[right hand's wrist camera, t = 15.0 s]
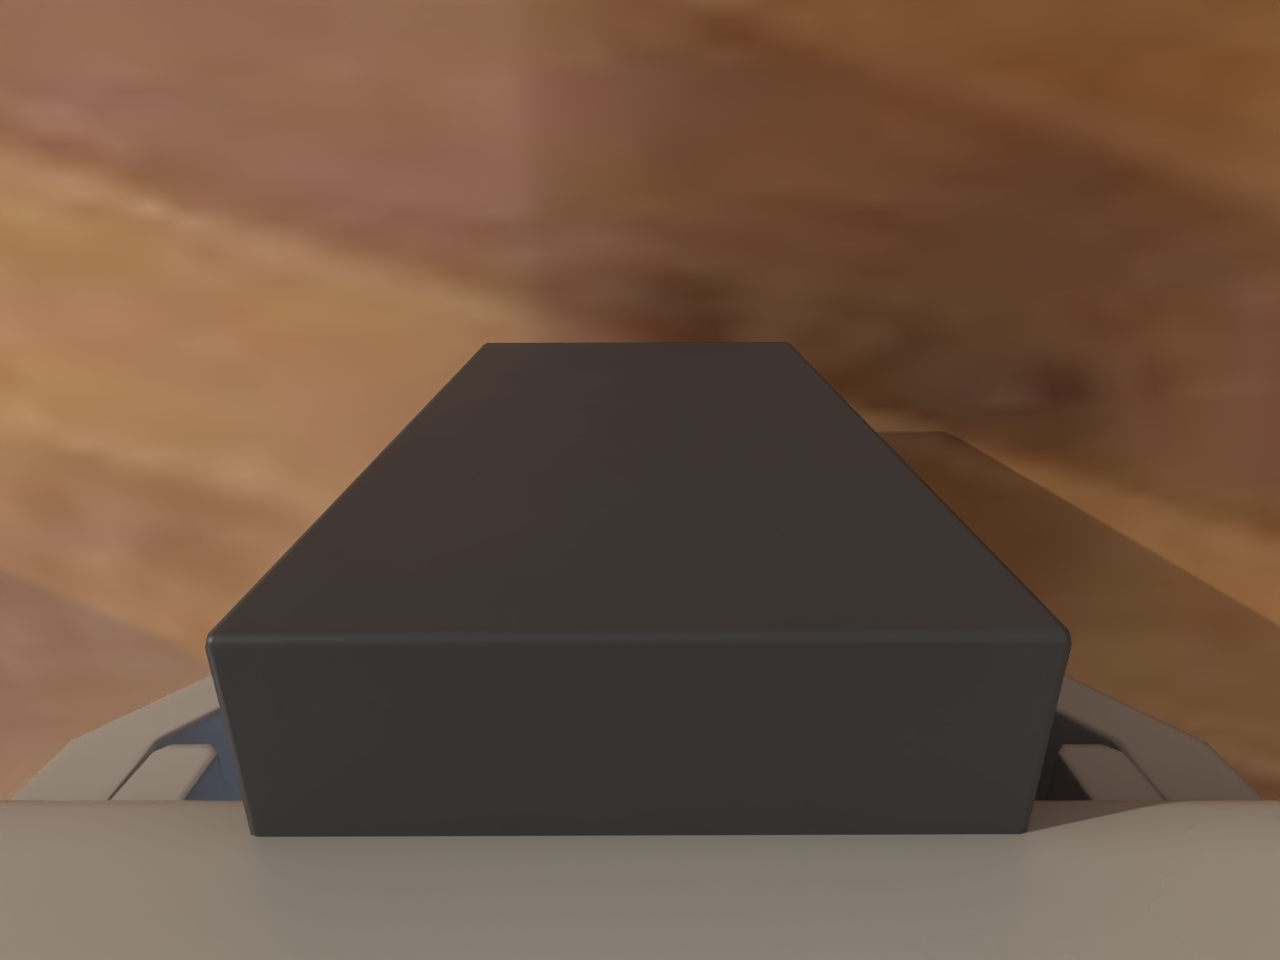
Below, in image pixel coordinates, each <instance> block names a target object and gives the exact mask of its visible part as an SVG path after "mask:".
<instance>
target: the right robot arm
mask: <svg viewBox="0 0 1280 960" xmlns="http://www.w3.org/2000/svg"><path fill="white" fill-rule="evenodd" d="M0 960H1280V800H1265V799H1264V798H1263V797H1262V796H1261V795H1260V794H1258V793H1257V792H1256V791H1255V790H1254V789H1253V788H1252V787H1251V786H1250V785H1249V784H1248V783H1247V782H1246V781H1245V780H1244V779H1243V778H1242V777H1241V776H1240V775H1239V774H1238V773H1237V772H1236V771H1235V770H1234V769H1233V768H1232V767H1231V766H1230V765H1229V764H1228V763H1227V762H1226V761H1225V760H1224V759H1223V758H1222V757H1221V756H1220V755H1219V754H1218V753H1217V752H1216V751H1215V750H1214V749H1213V748H1212V747H1211V746H1210V745H1209V744H1208V743H1207V742H1205V741H1203V740H1201V739H1198V738H1196V737H1194V736H1192V735H1190V734H1188V733H1186V732H1184V731H1182V730H1179V729H1177V728H1175V727H1173V726H1171V725H1169V724H1167V723H1165V722H1163V721H1160V720H1158V719H1156V718H1154V717H1152V716H1150V715H1148V714H1146V713H1144V712H1141V711H1139V710H1137V709H1135V708H1133V707H1131V706H1129V705H1127V704H1125V703H1122V702H1120V701H1118V700H1116V699H1114V698H1112V697H1110V696H1108V695H1106V694H1103V693H1101V692H1099V691H1097V690H1095V689H1093V688H1091V687H1089V686H1087V685H1084V684H1082V683H1080V682H1078V681H1076V680H1074V679H1072V678H1070V677H1068V676H1065V675H1064V678H1063V682H1062V687H1061V691H1060V695H1059V699H1058V703H1057V708H1056V712H1055V716H1054V720H1053V724H1052V729H1051V733H1050V737H1049V741H1048V745H1047V750H1046V754H1045V758H1044V762H1043V766H1042V771H1041V775H1040V779H1039V783H1038V787H1037V792H1036V796H1035V800H1034V804H1033V808H1032V813H1031V817H1030V821H1029V825H1028V829H1027V832H1025V833H1022V834H936V835H654V836H371V837H257V836H254V835H251V834H250V829H249V825H248V821H247V817H246V813H245V809H244V805H243V801H242V797H241V792H240V788H239V784H238V780H237V776H236V772H235V768H234V764H233V760H232V756H231V751H230V747H229V743H228V739H227V735H226V731H225V727H224V723H223V719H222V715H221V710H220V706H219V702H218V698H217V694H216V690H215V686H214V682H213V678H212V675H210V676H208V677H206V678H204V679H202V680H199V681H197V682H195V683H193V684H191V685H189V686H187V687H185V688H182V689H180V690H178V691H176V692H174V693H172V694H170V695H168V696H165V697H163V698H161V699H159V700H157V701H155V702H153V703H151V704H148V705H146V706H144V707H142V708H140V709H138V710H136V711H134V712H131V713H129V714H127V715H125V716H123V717H121V718H119V719H116V720H114V721H112V722H110V723H108V724H106V725H104V726H102V727H99V728H97V729H95V730H93V731H91V732H89V733H87V734H85V735H82V736H80V737H78V738H76V739H74V740H72V741H70V742H69V743H68V744H67V745H66V746H65V747H64V748H63V749H62V750H61V751H60V752H59V753H58V754H57V755H56V756H54V757H53V758H52V759H51V760H50V761H49V762H48V763H47V764H46V765H45V766H44V767H43V768H42V769H41V770H40V771H39V772H38V773H37V774H36V775H35V776H34V777H33V778H32V779H31V780H30V781H29V782H28V783H27V784H26V785H25V786H24V787H22V788H21V789H20V790H19V791H18V792H17V793H16V794H15V795H14V796H13V797H12V798H11V799H10V800H0Z"/></svg>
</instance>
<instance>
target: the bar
mask: <svg viewBox="0 0 1280 960" xmlns="http://www.w3.org/2000/svg"><path fill="white" fill-rule="evenodd" d="M1071 645H1072V643H1071V637H1070V633H1069V631H1068V629H1067V628H1066V627H1065V626H1064V625H1063V624H1062V623H1061V622H1060V621H1059V620H1058V619H1057V618H1056V617H1055V616H1054V615H1053V614H1052V613H1051V612H1050V611H1049V610H1048V609H1047V608H1046V607H1045V606H1044V605H1043V604H1042V602H1041V601H1040V600H1039V599H1038V598H1037V597H1036V596H1035V595H1034V594H1033V593H1032V592H1031V591H1030V590H1029V589H1028V588H1027V587H1026V586H1025V585H1024V584H1023V583H1022V582H1021V581H1020V580H1019V579H1018V578H1017V577H1016V576H1015V575H1014V574H1013V573H1012V572H1011V571H1010V570H1009V569H1008V568H1007V567H1006V566H1005V565H1004V563H1003V562H1002V561H1001V560H1000V559H999V558H998V557H997V556H996V555H995V554H994V553H993V552H992V551H991V550H990V549H989V548H988V547H987V546H986V545H985V544H984V543H983V542H982V541H981V540H980V539H979V538H978V537H977V536H976V535H975V534H974V533H973V532H972V531H971V530H970V529H969V528H968V527H967V526H966V524H965V523H964V522H963V521H962V520H961V519H960V518H959V517H958V516H957V515H956V514H955V513H954V512H953V511H952V510H951V509H950V508H949V507H948V506H947V505H946V504H945V503H944V502H943V501H942V500H941V499H940V498H939V497H938V496H937V495H936V494H935V493H934V492H933V491H932V490H931V489H930V488H929V487H928V485H927V484H926V483H925V482H924V481H923V480H922V479H921V478H920V477H919V476H918V475H917V474H916V473H915V472H914V471H913V470H912V469H911V468H910V467H909V466H908V465H907V464H906V463H905V462H904V461H903V460H902V459H901V458H900V457H899V456H898V455H897V454H896V453H895V452H894V451H893V450H892V449H891V448H890V446H889V445H888V444H887V443H886V442H885V441H884V440H883V439H882V438H881V437H880V436H879V435H878V434H877V433H876V432H875V431H874V430H873V429H872V428H871V427H870V426H869V425H868V424H867V423H866V422H865V421H864V420H863V419H862V418H861V417H860V416H859V415H858V414H857V413H856V412H855V411H854V410H853V409H852V408H851V406H850V405H849V404H848V403H847V402H846V401H845V400H844V399H843V398H842V397H841V396H840V395H839V394H838V393H837V392H836V391H835V390H834V389H833V388H832V387H831V386H830V385H829V384H828V383H827V382H826V381H825V380H824V379H823V378H822V377H821V376H820V375H819V374H818V373H817V372H816V371H815V370H814V369H813V367H812V366H811V365H810V364H809V363H808V362H807V361H806V360H805V359H804V358H803V357H802V356H801V355H800V354H799V353H798V352H797V351H796V350H795V349H794V348H793V347H792V346H791V345H790V344H789V343H786V342H707V343H487V344H484V345H483V346H482V347H481V349H480V350H479V351H478V352H477V353H476V354H475V355H474V356H473V357H472V358H471V359H470V360H469V361H468V362H467V363H466V364H465V365H464V366H463V367H462V368H461V369H460V371H459V372H458V373H457V374H456V375H455V376H454V377H453V378H452V379H451V380H450V381H449V382H448V383H447V384H446V385H445V386H444V387H443V388H442V389H441V390H440V391H439V393H438V394H437V395H436V396H435V397H434V398H433V399H432V400H431V401H430V402H429V403H428V404H427V405H426V406H425V407H424V408H423V409H422V410H421V411H420V412H419V413H418V415H417V416H416V417H415V418H414V419H413V420H412V421H411V422H410V423H409V424H408V425H407V426H406V427H405V428H404V429H403V430H402V431H401V432H400V433H399V434H398V436H397V437H396V438H395V439H394V440H393V441H392V442H391V443H390V444H389V445H388V446H387V447H386V448H385V449H384V450H383V451H382V452H381V453H380V454H379V455H378V456H377V458H376V459H375V460H374V461H373V462H372V463H371V464H370V465H369V466H368V467H367V468H366V469H365V470H364V471H363V472H362V473H361V474H360V475H359V476H358V477H357V478H356V480H355V481H354V482H353V483H352V484H351V485H350V486H349V487H348V488H347V489H346V490H345V491H344V492H343V493H342V494H341V495H340V496H339V497H338V498H337V499H336V500H335V502H334V503H333V504H332V505H331V506H330V507H329V508H328V509H327V510H326V511H325V512H324V513H323V514H322V515H321V516H320V517H319V518H318V519H317V520H316V521H315V522H314V524H313V525H312V526H311V527H310V528H309V529H308V530H307V531H306V532H305V533H304V534H303V535H302V536H301V537H300V538H299V539H298V540H297V541H296V542H295V543H294V544H293V546H292V547H291V548H290V549H289V550H288V551H287V552H286V553H285V554H284V555H283V556H282V557H281V558H280V559H279V560H278V561H277V562H276V563H275V564H274V565H273V566H272V568H271V569H270V570H269V571H268V572H267V573H266V574H265V575H264V576H263V577H262V578H261V579H260V580H259V581H258V582H257V583H256V584H255V585H254V586H253V587H252V589H251V590H250V591H249V592H248V593H247V594H246V595H245V596H244V597H243V598H242V599H241V600H240V601H239V602H238V603H237V604H236V605H235V606H234V607H233V608H232V609H231V611H230V612H229V613H228V614H227V615H226V616H225V617H224V618H223V619H222V620H221V621H220V622H219V623H218V624H217V625H216V626H215V627H214V628H213V629H212V630H211V631H210V633H209V634H208V636H207V639H206V646H205V649H206V653H207V657H208V661H209V665H210V669H211V673H212V678H213V682H214V686H215V690H216V694H217V698H218V702H219V706H220V710H221V715H222V719H223V723H224V727H225V731H226V735H227V739H228V743H229V747H230V751H231V756H232V760H233V764H234V768H235V772H236V776H237V780H238V784H239V788H240V792H241V797H242V801H243V805H244V809H245V813H246V817H247V821H248V825H249V829H250V834H251V835H254V836H257V837H371V836H654V835H936V834H1022V833H1025V832H1027V829H1028V825H1029V821H1030V817H1031V813H1032V808H1033V804H1034V800H1035V796H1036V792H1037V787H1038V783H1039V779H1040V775H1041V771H1042V766H1043V762H1044V758H1045V754H1046V750H1047V745H1048V741H1049V737H1050V733H1051V729H1052V724H1053V720H1054V716H1055V712H1056V708H1057V703H1058V699H1059V695H1060V691H1061V687H1062V682H1063V678H1064V674H1065V670H1066V666H1067V661H1068V657H1069V653H1070V649H1071Z"/></svg>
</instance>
